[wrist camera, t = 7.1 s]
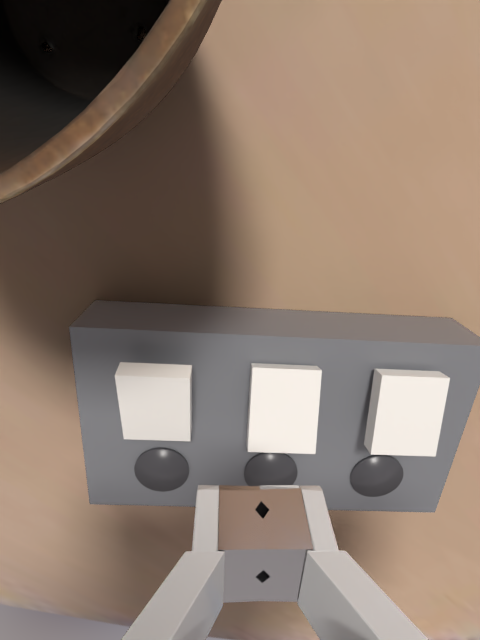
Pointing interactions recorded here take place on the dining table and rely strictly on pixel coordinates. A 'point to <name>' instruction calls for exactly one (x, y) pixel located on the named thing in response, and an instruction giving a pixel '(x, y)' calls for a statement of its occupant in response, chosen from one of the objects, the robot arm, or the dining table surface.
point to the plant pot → (85, 77)
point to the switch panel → (233, 401)
